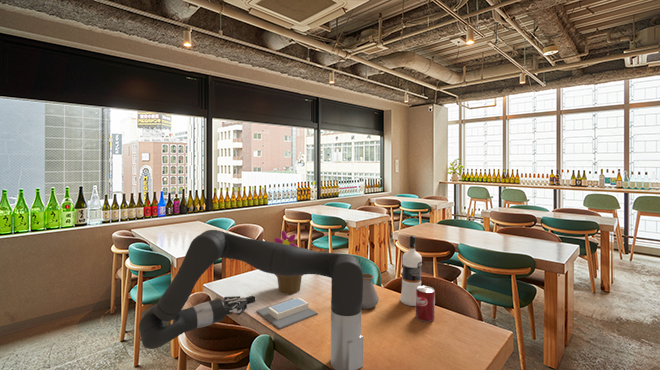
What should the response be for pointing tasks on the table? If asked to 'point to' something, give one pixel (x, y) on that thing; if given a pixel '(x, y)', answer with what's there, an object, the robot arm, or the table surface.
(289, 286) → the flowerpot
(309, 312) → the rubber mat
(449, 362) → the table surface
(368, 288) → the coffee pot
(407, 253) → the vodka
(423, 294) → the soda can
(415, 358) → the table surface
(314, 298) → the table surface
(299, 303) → the slate tablet
